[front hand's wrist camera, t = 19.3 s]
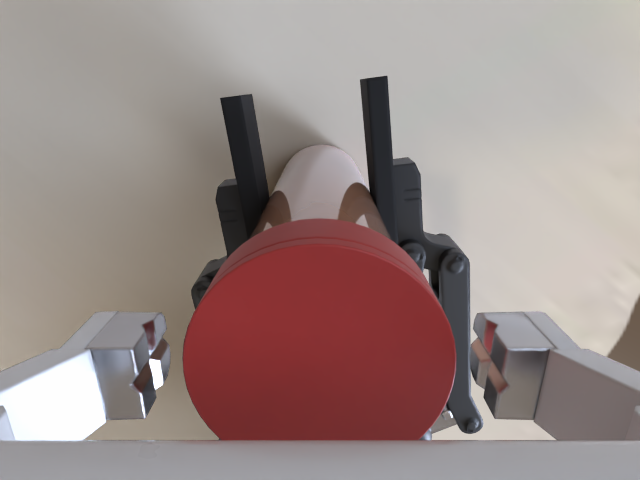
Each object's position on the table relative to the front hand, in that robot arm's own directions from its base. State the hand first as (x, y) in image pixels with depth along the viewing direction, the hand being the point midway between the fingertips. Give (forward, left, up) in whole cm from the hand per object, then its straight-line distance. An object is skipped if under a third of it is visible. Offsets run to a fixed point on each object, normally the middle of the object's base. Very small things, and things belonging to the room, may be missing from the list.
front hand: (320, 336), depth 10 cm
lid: (0, 0, +2) cm, 2 cm away
